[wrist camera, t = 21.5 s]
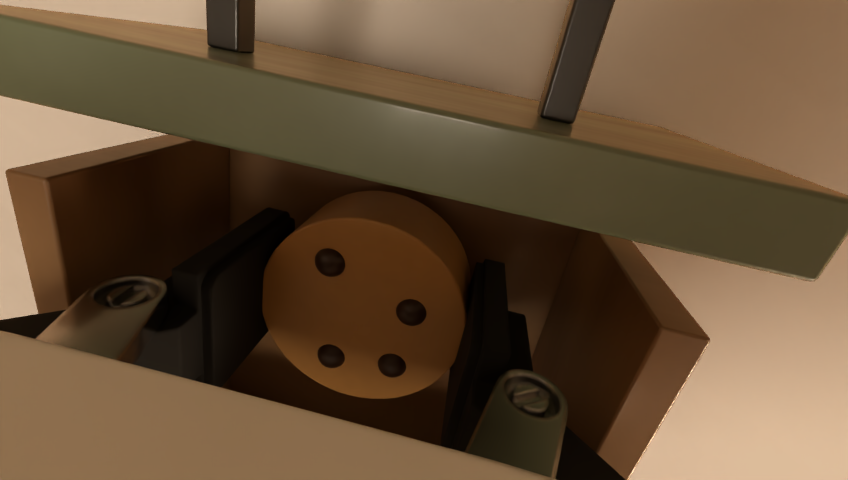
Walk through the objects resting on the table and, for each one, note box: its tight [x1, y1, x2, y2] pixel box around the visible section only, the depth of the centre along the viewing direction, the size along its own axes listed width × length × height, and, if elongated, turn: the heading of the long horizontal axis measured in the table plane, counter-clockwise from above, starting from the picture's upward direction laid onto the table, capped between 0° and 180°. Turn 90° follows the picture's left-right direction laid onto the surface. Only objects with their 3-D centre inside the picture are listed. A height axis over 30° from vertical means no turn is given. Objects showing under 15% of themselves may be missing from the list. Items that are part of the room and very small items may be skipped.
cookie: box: [262, 191, 470, 399], centre depth 11 cm, size 5×5×2 cm
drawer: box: [0, 0, 848, 480], centre depth 10 cm, size 21×13×7 cm, turn 169°
